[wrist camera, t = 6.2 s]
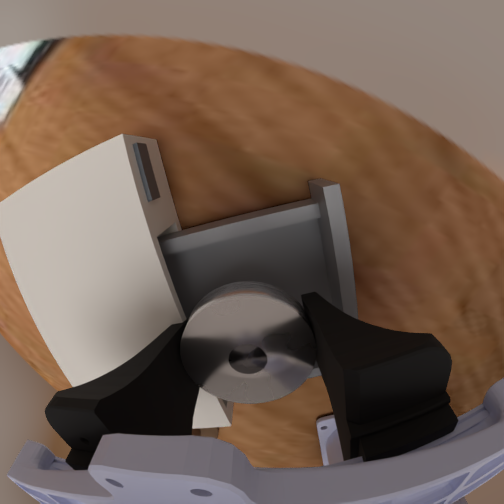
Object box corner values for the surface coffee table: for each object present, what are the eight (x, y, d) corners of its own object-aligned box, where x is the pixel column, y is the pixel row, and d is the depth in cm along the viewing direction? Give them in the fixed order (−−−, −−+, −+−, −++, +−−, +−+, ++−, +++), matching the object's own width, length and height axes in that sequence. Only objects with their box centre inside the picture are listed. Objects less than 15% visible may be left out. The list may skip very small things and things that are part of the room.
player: (160, 138, 13) (126, 131, 9) (238, 380, 17) (234, 425, 13) (34, 196, 14) (-8, 208, 10) (120, 390, 18) (102, 425, 14)
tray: (320, 178, 12) (339, 183, 9) (347, 360, 15) (361, 396, 12) (138, 225, 13) (108, 243, 10) (204, 387, 16) (195, 424, 13)
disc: (317, 369, 12) (323, 391, 10) (209, 387, 12) (205, 410, 11) (299, 267, 10) (305, 284, 9) (169, 295, 11) (159, 314, 9)
